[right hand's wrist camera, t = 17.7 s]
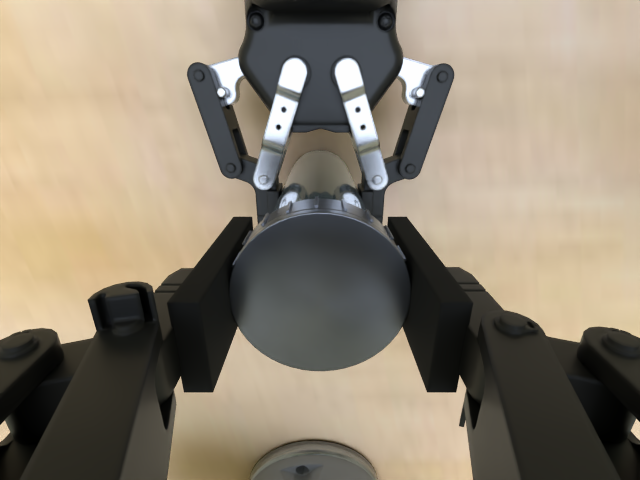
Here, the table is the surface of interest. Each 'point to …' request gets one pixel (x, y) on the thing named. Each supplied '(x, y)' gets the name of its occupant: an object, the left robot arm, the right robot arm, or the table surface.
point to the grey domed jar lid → (320, 285)
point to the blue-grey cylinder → (320, 180)
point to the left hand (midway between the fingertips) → (320, 242)
